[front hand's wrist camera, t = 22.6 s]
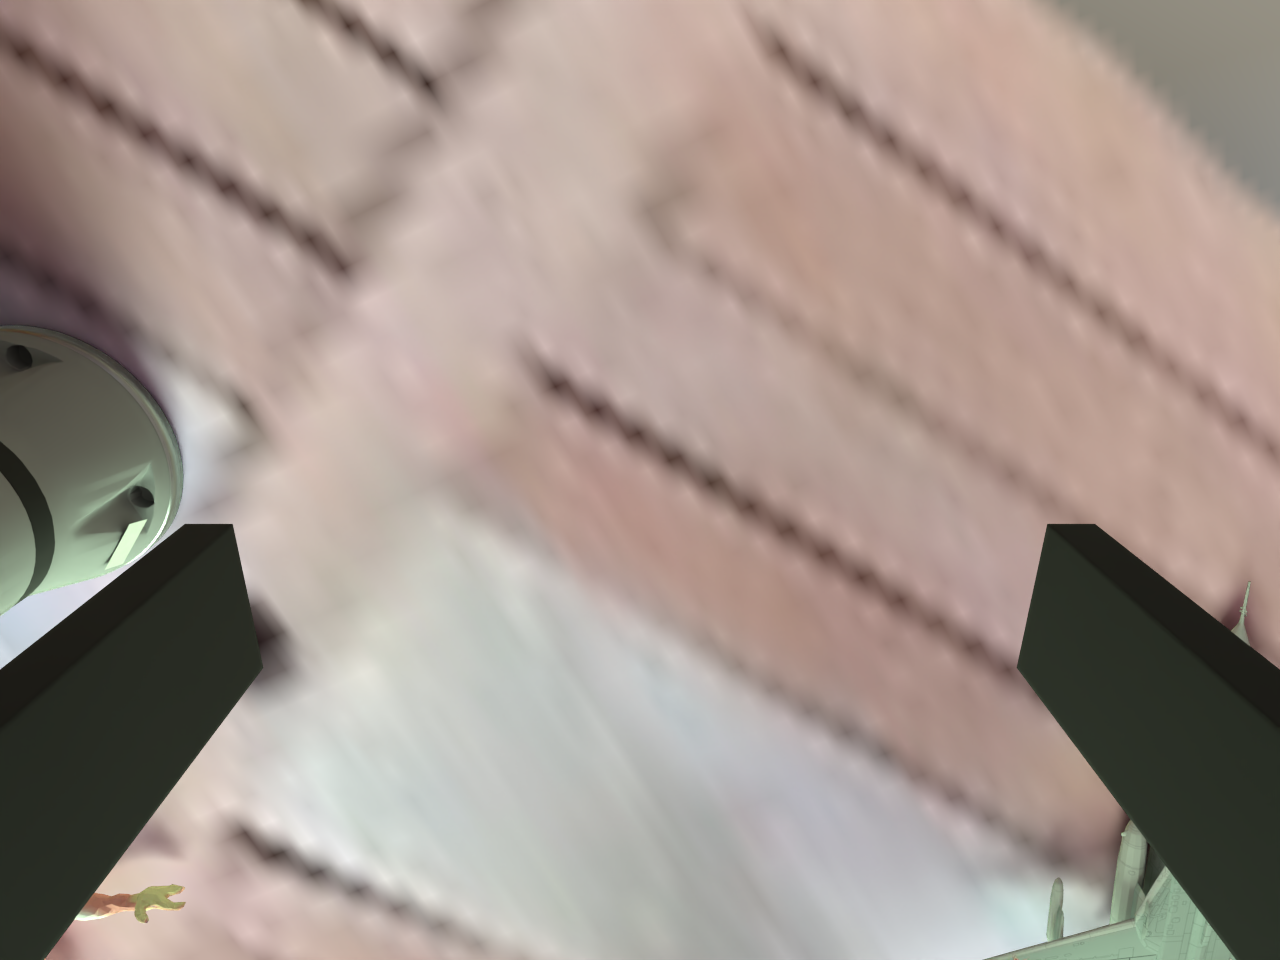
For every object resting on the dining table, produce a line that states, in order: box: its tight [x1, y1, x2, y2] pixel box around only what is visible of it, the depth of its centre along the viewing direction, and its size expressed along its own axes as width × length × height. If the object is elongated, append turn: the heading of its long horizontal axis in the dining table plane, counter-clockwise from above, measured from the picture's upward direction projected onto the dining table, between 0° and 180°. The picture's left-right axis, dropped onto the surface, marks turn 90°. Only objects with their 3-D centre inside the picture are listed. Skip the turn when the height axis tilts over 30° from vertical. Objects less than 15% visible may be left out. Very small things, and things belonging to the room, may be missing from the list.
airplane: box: [984, 581, 1251, 960], centre depth 55 cm, size 38×31×10 cm
